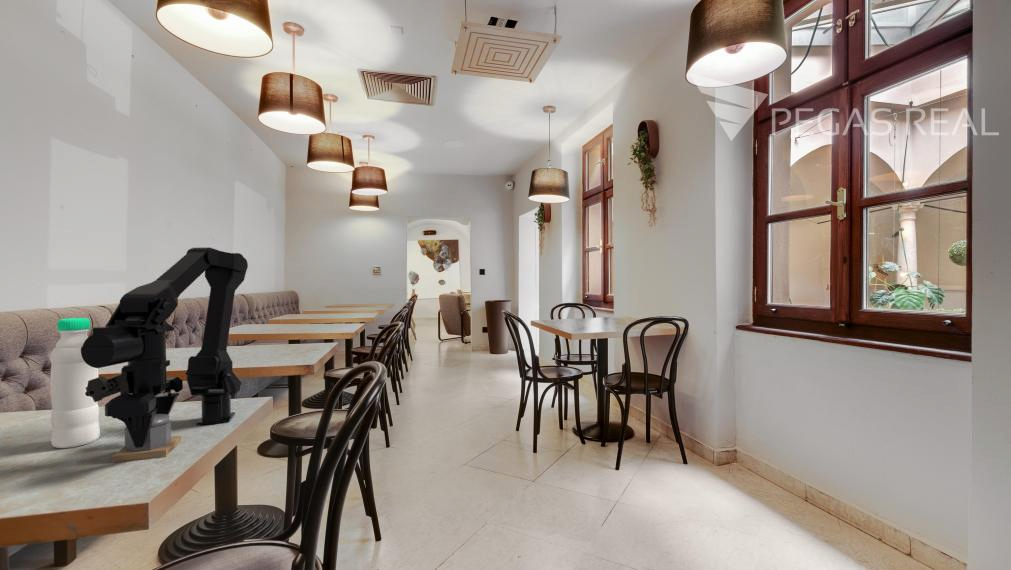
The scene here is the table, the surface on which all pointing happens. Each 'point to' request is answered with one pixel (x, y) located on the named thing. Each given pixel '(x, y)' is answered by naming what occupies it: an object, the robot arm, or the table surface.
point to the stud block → (147, 452)
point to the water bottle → (72, 388)
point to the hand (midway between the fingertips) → (148, 439)
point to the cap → (152, 435)
